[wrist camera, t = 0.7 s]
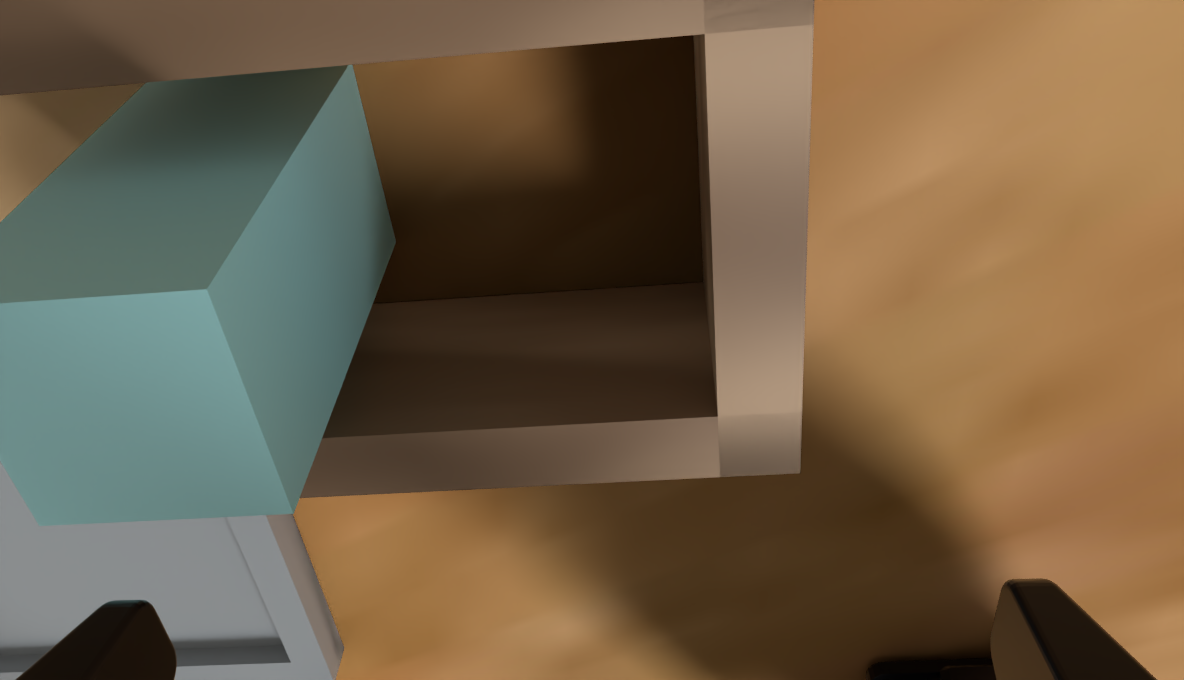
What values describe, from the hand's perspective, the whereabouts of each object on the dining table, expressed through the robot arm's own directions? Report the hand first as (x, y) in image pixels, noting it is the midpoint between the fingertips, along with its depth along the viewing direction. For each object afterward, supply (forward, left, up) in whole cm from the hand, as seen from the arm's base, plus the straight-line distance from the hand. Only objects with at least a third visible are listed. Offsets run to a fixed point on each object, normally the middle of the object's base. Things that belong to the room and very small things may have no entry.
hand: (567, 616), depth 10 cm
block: (0, +7, -12) cm, 14 cm away
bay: (0, +3, -12) cm, 12 cm away
